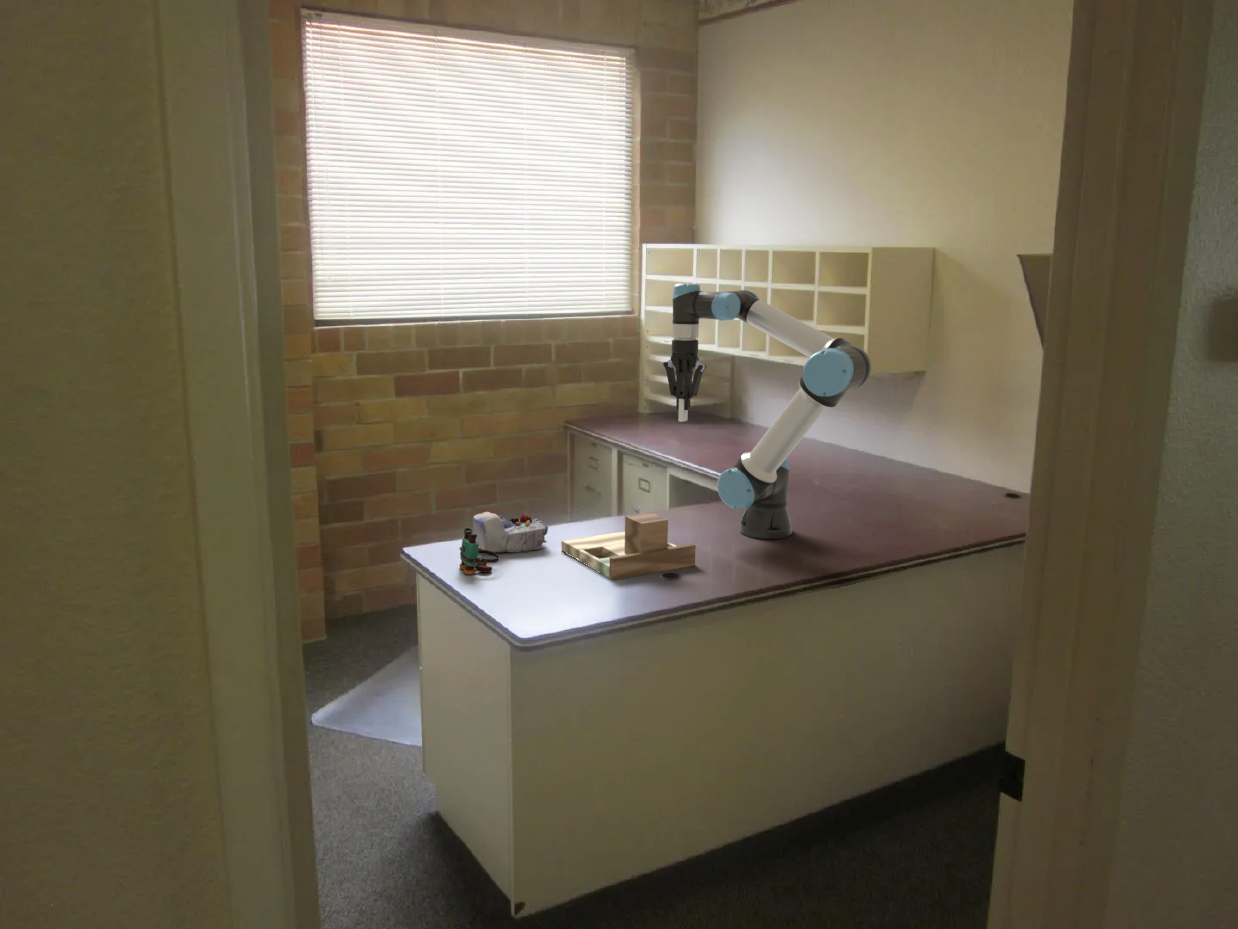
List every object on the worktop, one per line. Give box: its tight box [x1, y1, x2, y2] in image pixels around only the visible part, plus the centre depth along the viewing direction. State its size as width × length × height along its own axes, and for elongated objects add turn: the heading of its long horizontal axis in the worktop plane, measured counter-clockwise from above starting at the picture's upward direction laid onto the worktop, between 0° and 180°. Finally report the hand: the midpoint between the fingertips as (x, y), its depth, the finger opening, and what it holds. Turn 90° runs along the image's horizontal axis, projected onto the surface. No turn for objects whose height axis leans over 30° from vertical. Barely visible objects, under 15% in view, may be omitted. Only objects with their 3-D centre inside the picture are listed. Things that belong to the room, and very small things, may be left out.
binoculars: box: [459, 527, 500, 576], centre depth 255 cm, size 9×11×10 cm
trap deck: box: [561, 530, 696, 581], centre depth 267 cm, size 28×25×6 cm
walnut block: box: [624, 512, 669, 555], centre depth 259 cm, size 8×8×10 cm
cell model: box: [472, 511, 549, 553], centre depth 274 cm, size 13×11×20 cm
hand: (682, 420), depth 289 cm, fingers closed
